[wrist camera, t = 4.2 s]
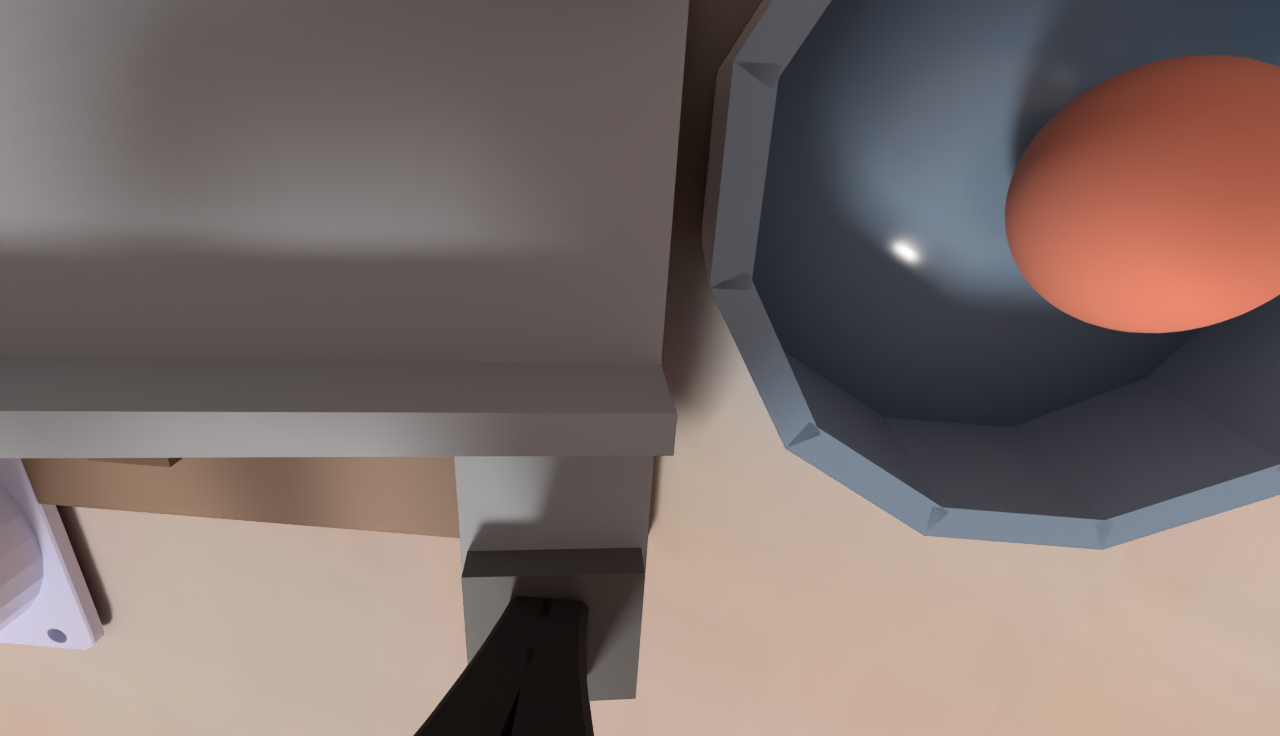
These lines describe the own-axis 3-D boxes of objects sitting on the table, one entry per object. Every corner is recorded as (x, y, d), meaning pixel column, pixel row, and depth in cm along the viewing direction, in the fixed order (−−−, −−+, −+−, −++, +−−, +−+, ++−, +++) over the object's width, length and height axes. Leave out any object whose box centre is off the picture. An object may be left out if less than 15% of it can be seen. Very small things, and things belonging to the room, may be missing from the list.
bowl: (683, 418, 14) (685, 516, 11) (745, -223, 10) (781, -390, 6) (1188, 456, 14) (1349, 569, 11) (1496, -186, 9) (1943, -340, 6)
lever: (-246, 680, 11) (-447, 825, 8) (-912, -245, 6) (-1756, -436, 4) (633, 645, 12) (645, 760, 10) (685, -91, 7) (729, -161, 5)
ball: (1165, 301, 12) (946, 281, 12) (1260, 69, 10) (1005, 56, 11) (1353, 389, 8) (1033, 357, 9) (1546, 52, 7) (1142, 34, 7)
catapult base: (60, 489, 16) (-211, 661, 11) (-348, -594, 9) (-1650, -1468, 4) (647, 537, 15) (634, 738, 11) (732, -556, 8) (809, -1482, 3)
